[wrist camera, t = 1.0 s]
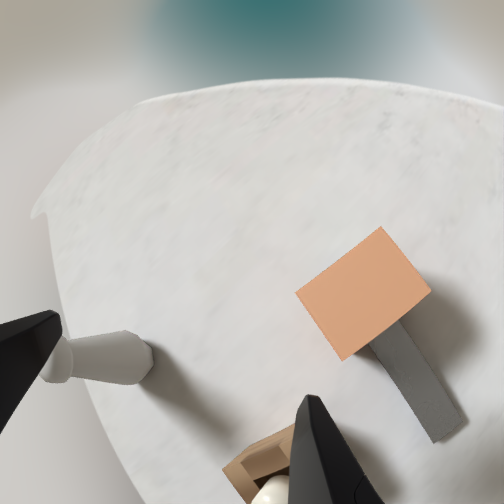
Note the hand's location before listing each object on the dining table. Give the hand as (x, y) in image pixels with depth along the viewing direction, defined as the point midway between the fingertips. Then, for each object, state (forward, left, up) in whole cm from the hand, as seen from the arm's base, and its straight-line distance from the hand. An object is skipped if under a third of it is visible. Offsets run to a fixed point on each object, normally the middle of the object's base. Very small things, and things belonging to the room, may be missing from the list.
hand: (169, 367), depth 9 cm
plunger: (-10, +5, -11) cm, 16 cm away
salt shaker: (+7, +15, -18) cm, 24 cm away
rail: (-6, -7, -17) cm, 20 cm away
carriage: (-1, -7, -17) cm, 19 cm away
